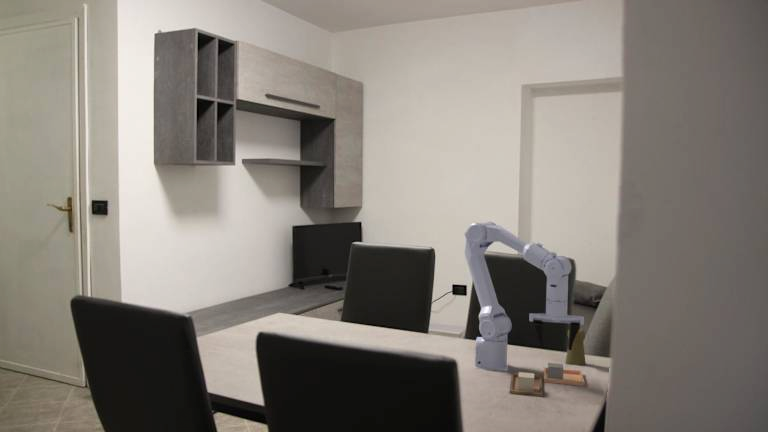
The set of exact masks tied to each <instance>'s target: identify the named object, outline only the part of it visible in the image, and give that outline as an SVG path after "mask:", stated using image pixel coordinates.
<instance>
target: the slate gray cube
mask: <svg viewBox="0 0 768 432" xmlns="http://www.w3.org/2000/svg"><path fill="white" fill-rule="evenodd" d="M547 368H548V378H553V379H563V369H564V364H563V363H556V362H547Z"/></svg>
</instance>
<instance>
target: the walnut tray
mask: <svg viewBox="0 0 768 432" xmlns="http://www.w3.org/2000/svg"><path fill="white" fill-rule="evenodd" d="M518 375H519V373H516V372H515V373H514V372H512V373H511V377H510V385H509V394H511V395H512V394H513V395H521V396H529V397H530V396H531V397H542V398H543V377H542V375H538V374H537V375H536V374H534V392H526V391H518Z"/></svg>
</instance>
